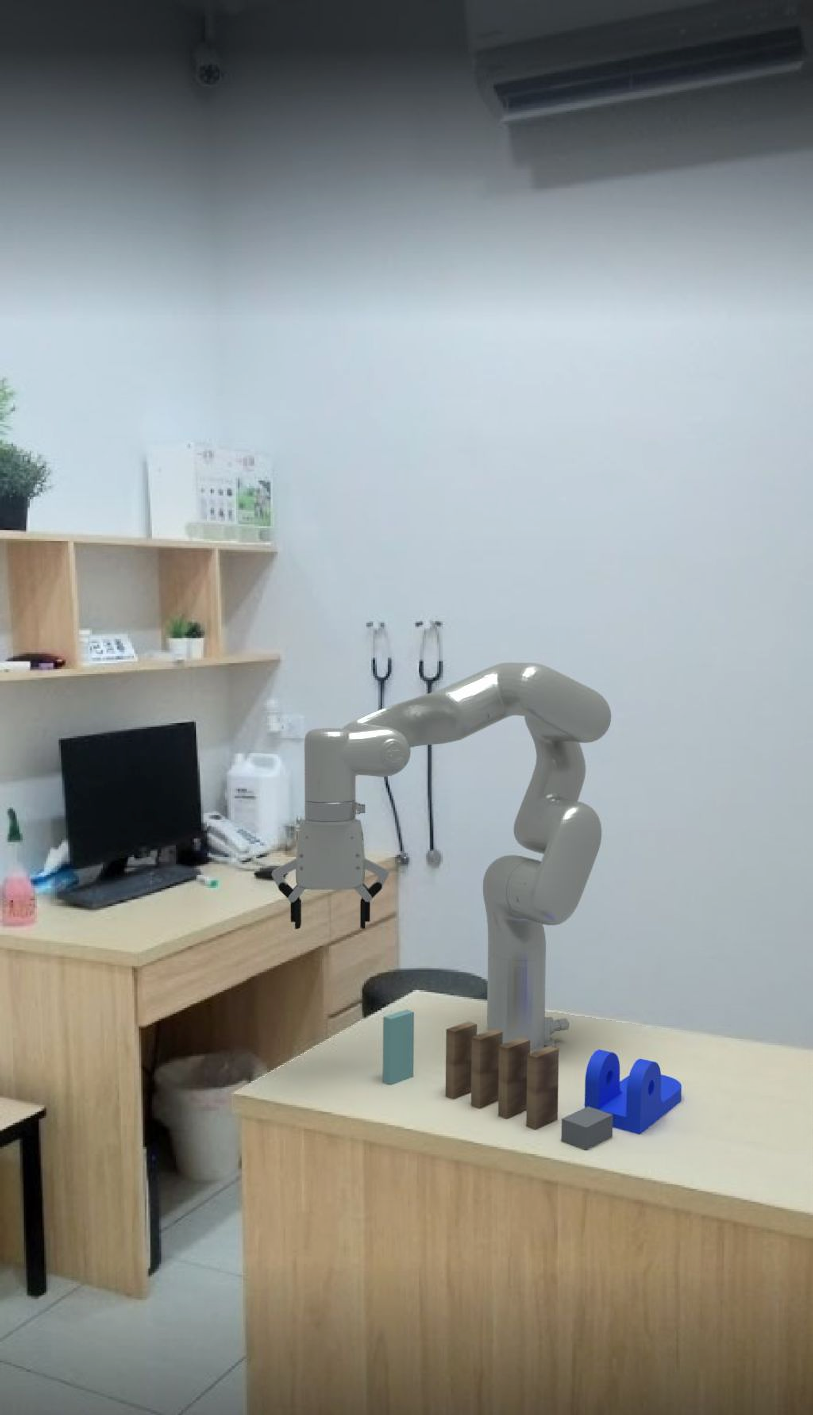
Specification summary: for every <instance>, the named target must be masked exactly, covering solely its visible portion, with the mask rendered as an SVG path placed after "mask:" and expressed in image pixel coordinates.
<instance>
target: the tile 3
mask: <svg viewBox="0 0 813 1415" xmlns="http://www.w3.org/2000/svg"><path fill="white" fill-rule="evenodd" d="M484 1032H485V1033H484ZM484 1032H482V1033H479V1034H477V1035H476V1036H473V1037H472V1061H471V1093H470V1106H471V1107H473V1108H475V1109H478V1110H481V1109H483V1108H485V1107H488V1106H490V1105H493V1104H496V1103H498V1084H499V1045H502V1044H503V1032H502V1031H499V1030H495V1029H493V1030H490V1031H488V1032H486V1031H484Z"/></svg>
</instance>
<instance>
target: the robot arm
mask: <svg viewBox="0 0 813 1415" xmlns="http://www.w3.org/2000/svg"><path fill="white" fill-rule="evenodd" d="M512 716H519V717H521V716H522V717H524V722H525V725H526V727H527V729H528V732H529V734H530V736H531V738H532V740H533V744H534V748H535V752H536V758H535V759H536V760H535V766H534V769H533V772H532V775H531V779H530V781H529V784H528V787H527V789H526V791H525V794H524V797H523V799H522V802H521V804H520V807H519V809H518V811H517V814H516V817H515V820H514V823H513V835H514V839H515V840H516V841H517V843H518V844H519V845H520V846H521V847H523V848H524V849H526V850H529V851H532V852H534V853H538V854H542V855H543V856H542V858H541V860H539V859H535V858H530V857H527V856H522V855H517V854H516V855H515V854H513V855H512V854H511V855H510V854H508V855H504V856H500V857H499V858H496V859H495V860H493V861H492V862H491V863H490V864H489V865H488V866H487V868H486V870H485V873H484V874H483V875H484V877H483V879H482V896H483V901H484V906H485V914H486V922H487V987H486V988H487V996H486V999H487V1001H486V1002H487V1005H486V1006H487V1008H486V1009H487V1010H486V1031H484V1032H483V1033H485V1032H488V1031H490V1030H493V1029H495V1030H499V1031H502V1032H503V1044H505V1043H507V1042H510V1041H513V1040H516V1039H518V1038H521V1037H522V1038H525V1039H528V1040H530V1053H533V1052H535V1051H538V1050H540V1049H543V1048H545V1047H548V1046H552V1047H555V1041H554V1039H553V1037H551V1035H553V1034H554V1033H555V1032H563V1031H567V1030H569V1028H570V1022H569V1020H568V1018H566V1017H564V1018H558V1019H554V1018H553V1017H552V1016H547V1017H546V971H547V970H546V966H547V965H546V959H547V957H546V956H547V939H546V933H545V927H544V925H546V926H557V925H561V924H563V923H565V922H566V921H568V920H569V918H570V917H572V915H573V914H574V912H575V911H576V909H577V908H578V906H579V903H580V901H581V898H582V897H583V893H584V891H585V888H586V886H587V883H588V880H589V878H590V875H591V872H592V869H593V867H594V865H595V861H596V859H597V856H598V853H599V851H600V846H601V843H602V837H603V836H602V835H603V833H602V831H603V830H602V824H601V823H602V822H601V820H600V817H599V815H598V814H597V811H595V809H593V807H592V806H590V805H588V804H587V803H584V802H582V801H579V798H580V795H581V792H582V789H583V786H584V782H585V780H586V772H587V766H586V761H585V756H584V752H583V749H582V747H581V746H582V745H581V743H582V744H583V743H584V744H587V743H589V744H590V743H594V742H596V741H598V740H600V739H601V738H603V736H605V734H606V733H607V731H608V730H609V729H610V726H611V722H612V713H611V707H610V705H609V703H608V701H607V700H606V699H605V697H604V696H603V695H601V693H599V692H598V691H597V690H595V689H592V688H591V687H589V686H588V685H585V684H582V683H581V682H579V681H576V680H575V679H573V678H571V677H570V676H567V675H565V674H563V673H561V672H560V671H557V670H555V669H553V668H551V667H549V666H547V665H543V664H540V663H535V662H501V663H498V664H495V665H493V666H492V665H491V666H489V667H488V668H485V669H483V670H480V671H478V672H477V673H474V674H472V675H470V676H468V677H466V678H464V679H462V680H459V681H457V682H455V683H452V684H450V685H448V686H445V687H443V688H440V689H439V690H436V691H433V692H429V693H427V694H422V695H419V696H416V697H414V698H412V699H408V700H405V701H402V702H398V703H395V704H393V705H389V706H386V707H383V708H381V709H378V710H376V711H373V712H371V713H368V714H367V715H364V716H362V717H360V718H357V719H356V720H353V721H352V722H349V723H348V724H346V725H344V726H343V727H342V728H335V727H332V728H331V727H328V728H327V727H326V728H325V727H323V728H322V727H321V728H314V729H310V730H309V731H307V733H305V737H304V745H303V746H304V819H302V820H301V819H300V822H299V826H298V832H297V838H296V840H297V842H296V854H295V856H296V857H295V858H294V859H292V860H290V861H288V862H285V863H284V864H283V865H280V866H278V867H277V868H275V869H273V870H272V872H271V877H272V879H273V880H274V883H275V885H276V886H277V888H278V890H279V891H280V892H281V893H282V895H284V897H286V898H287V899H288V901H289V902H290V923H294V928H295V930H299V929H301V926H302V898H301V897H300V896H301V895H302V894H303V893H304V892H305V890H312V891H313V890H314V891H315V890H319V891H320V890H333V891H334V890H335V891H336V890H337V891H338V890H339V891H340V890H341V891H342V890H355V891H356V893H358V895H359V896H360V902H359V903H360V904H359V905H360V906H359V907H360V908H359V909H360V910H359V911H360V913H359V915H360V916H359V917H360V918H359V919H360V920H359V921H360V922H359V924H360V927H359V928H360V929H362V930H363V929H364V930H365V929H366V923H367V922H368V923H369V922H371V902H372V899H373V898H374V897H375V896H377V894H378V893H379V892H380V891H381V890H382V889H383V888H384V885H385V883H386V881H387V879H388V878H389V875H390V874H389V873H390V872H389V870H388V869H387V868H385V867H383V866H381V865H379V864H377V863H376V862H374V861H372V860H369V858H368V859H367V858H366V857H365V856H366V855H365V839H364V833H363V825H362V822H361V820H360V819H357V818H356V816H358V815H361V814H366V803H365V804H364V803H363V804H361V803H358V801H357V799H356V797H357V796H356V792H357V791H356V790H357V789H356V777H357V776H367V777H369V776H370V777H379V778H386V777H390V776H394V775H396V774H399V773H400V772H401V771H403V769H405V768H406V767H407V765H408V764H409V760H410V758H411V753H412V752H411V748H414V747H420V746H429V745H432V746H433V745H442V744H447V743H452V742H453V743H454V742H457V741H461V740H463V739H465V738H468V737H470V736H471V735H473V734H475V733H478V732H479V731H481V730H483V729H486V728H487V727H489V726H492V725H493V724H496V723H498V722H500V721H502V720H505V719H506V718H509V717H512ZM294 870H295V882H296V885H295V886H294V887H292V886H290V885H289V884H288V883H287V881H286V880H285V878H284V876H285V875H286V874H289V873H290V872H292V871H294ZM366 871H368V872H371V873H372V874H374V875H376V876H377V877H376V880H375V881H374V883H373V884H371V886H370V887H368V886H367V885H366V883H365V876H366Z"/></svg>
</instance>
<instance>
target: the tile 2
mask: <svg viewBox="0 0 813 1415" xmlns="http://www.w3.org/2000/svg"><path fill="white" fill-rule="evenodd" d="M445 1031H446V1032H445V1035H446V1036H445V1096H444V1097H446V1098H449V1099H451V1100H453V1101H454V1100H456V1099H459V1098H461V1097H463V1096H466V1095H468V1094H471V1061H472V1037H473V1036H476V1035H478V1023H475V1022H471V1021H467V1022H464V1023H461V1024H458V1025H454V1026H451V1027H448V1028H446V1029H445Z"/></svg>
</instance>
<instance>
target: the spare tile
mask: <svg viewBox="0 0 813 1415" xmlns="http://www.w3.org/2000/svg"><path fill="white" fill-rule="evenodd" d="M382 1019H383V1020H382V1022H383V1023H382V1024H383V1025H382V1027H383V1028H382V1083H384V1084H386V1085H389V1086H391V1085H394V1084H396V1083H399V1082H402V1081H405V1080H407V1079H408V1080H409V1079H410V1078H413V1077H414V1064H415V1063H414V1059H415V1058H414V1050H415V1049H414V1048H415V1047H414V1046H415V1042H414V1041H415V1040H414V1039H415V1038H414V1037H415V1034H414V1033H415V1031H414V1030H415V1012H414V1011H413V1010H412V1011H411V1010H408V1009H404V1010H401V1011H397V1012H394V1013H392V1014H387V1015H385V1016H383V1018H382Z"/></svg>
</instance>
